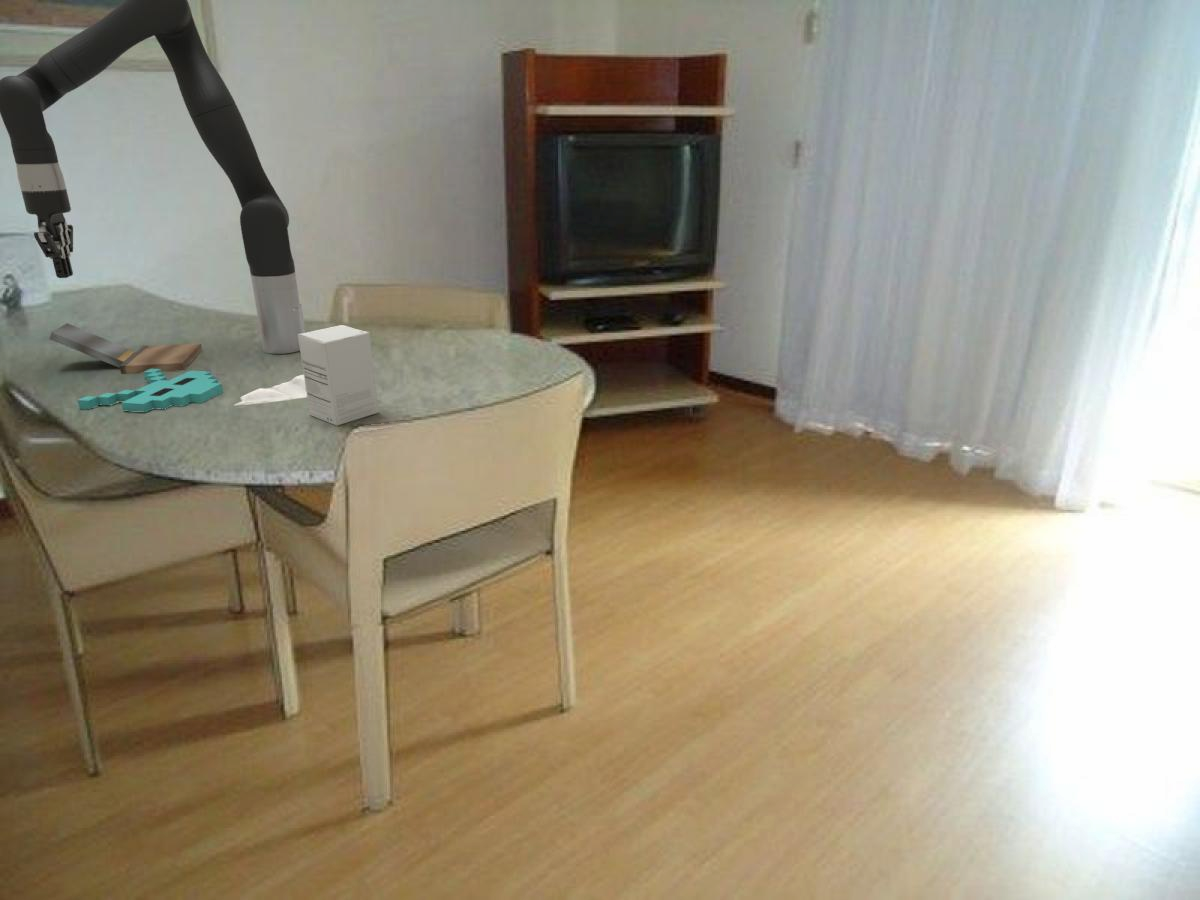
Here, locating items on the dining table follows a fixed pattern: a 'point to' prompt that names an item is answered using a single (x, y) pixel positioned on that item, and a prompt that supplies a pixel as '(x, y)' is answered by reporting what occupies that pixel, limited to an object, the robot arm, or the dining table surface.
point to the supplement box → (338, 374)
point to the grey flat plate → (91, 344)
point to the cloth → (277, 392)
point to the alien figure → (161, 392)
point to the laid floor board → (161, 358)
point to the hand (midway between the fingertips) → (65, 276)
